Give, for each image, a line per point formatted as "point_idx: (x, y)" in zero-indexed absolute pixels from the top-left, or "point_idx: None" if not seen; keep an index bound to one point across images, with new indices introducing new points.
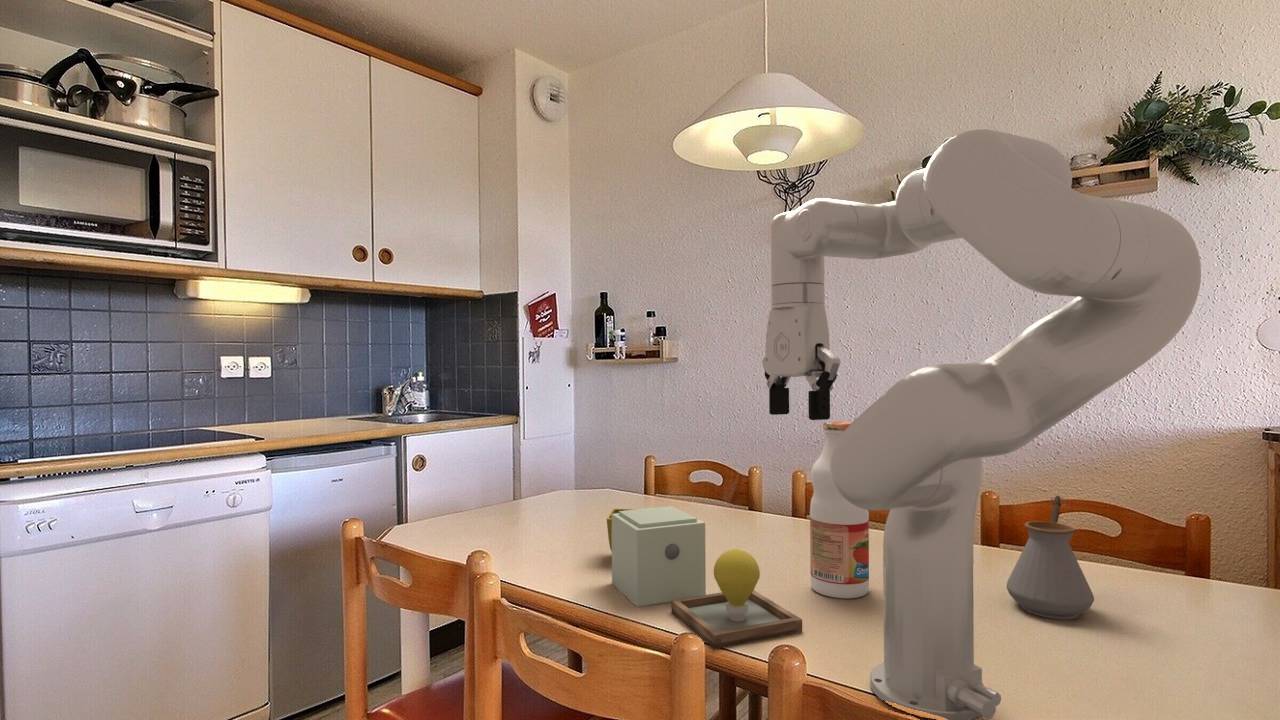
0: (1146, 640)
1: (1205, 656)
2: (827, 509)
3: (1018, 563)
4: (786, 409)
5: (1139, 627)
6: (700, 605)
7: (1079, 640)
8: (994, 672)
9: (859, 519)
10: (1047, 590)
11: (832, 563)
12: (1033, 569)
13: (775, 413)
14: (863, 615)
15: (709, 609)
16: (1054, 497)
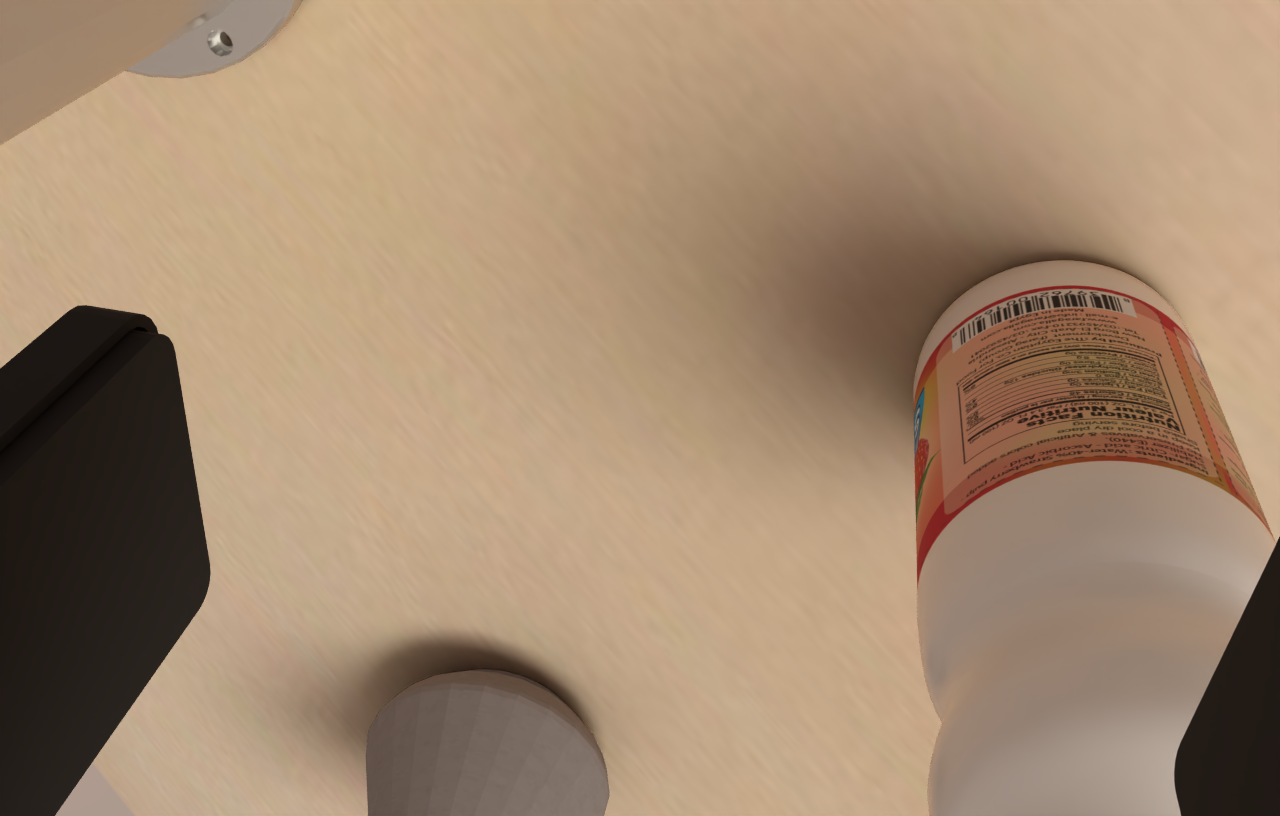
0: (253, 702)
1: (145, 704)
2: (1061, 524)
3: (520, 808)
4: (1204, 786)
5: (320, 764)
6: None
7: (307, 590)
8: (210, 209)
9: (918, 598)
10: (412, 726)
11: (1002, 352)
12: (446, 782)
13: (1270, 557)
14: (771, 230)
15: None
16: None
